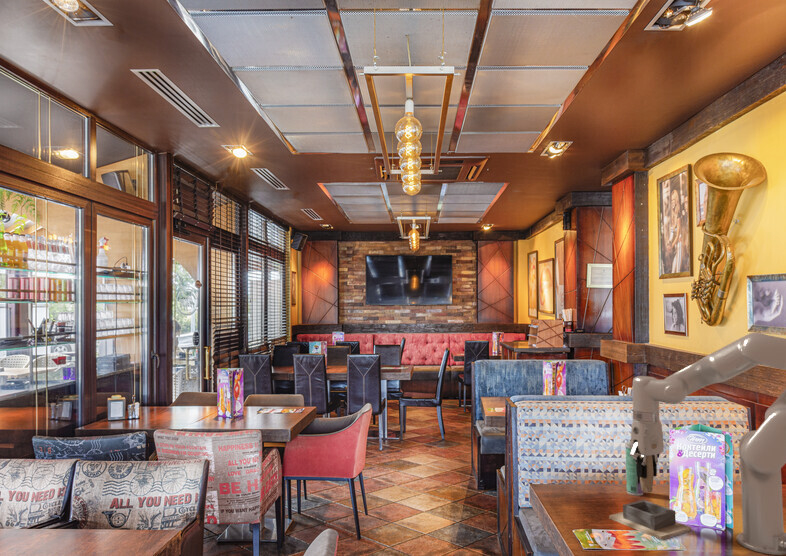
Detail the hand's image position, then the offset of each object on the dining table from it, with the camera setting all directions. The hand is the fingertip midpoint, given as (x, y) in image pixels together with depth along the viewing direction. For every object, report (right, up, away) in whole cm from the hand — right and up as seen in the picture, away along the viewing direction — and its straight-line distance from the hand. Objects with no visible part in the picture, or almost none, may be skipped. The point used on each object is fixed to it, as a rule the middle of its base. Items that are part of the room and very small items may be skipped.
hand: (646, 475), depth 166 cm
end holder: (0, -15, -1) cm, 15 cm away
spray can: (+9, -17, +27) cm, 33 cm away
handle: (0, -5, 0) cm, 5 cm away
